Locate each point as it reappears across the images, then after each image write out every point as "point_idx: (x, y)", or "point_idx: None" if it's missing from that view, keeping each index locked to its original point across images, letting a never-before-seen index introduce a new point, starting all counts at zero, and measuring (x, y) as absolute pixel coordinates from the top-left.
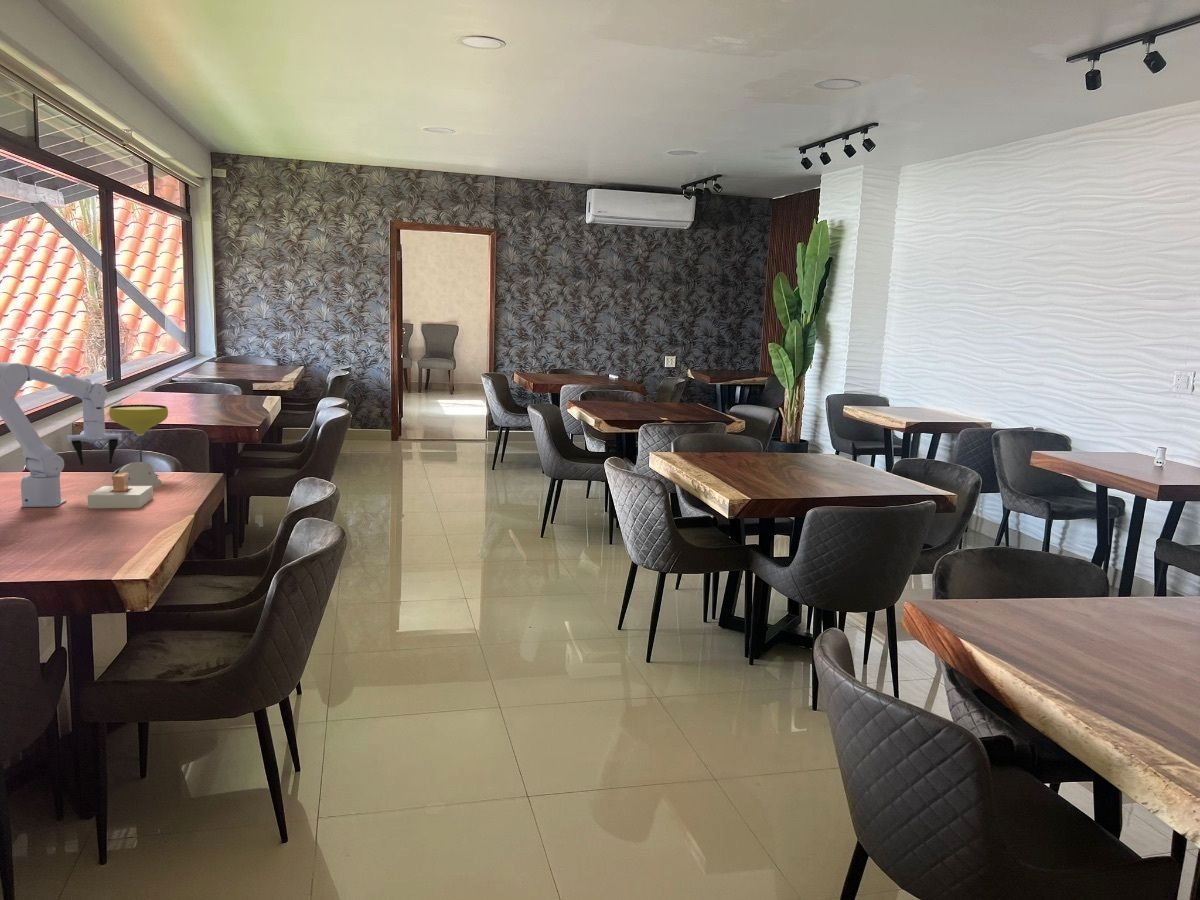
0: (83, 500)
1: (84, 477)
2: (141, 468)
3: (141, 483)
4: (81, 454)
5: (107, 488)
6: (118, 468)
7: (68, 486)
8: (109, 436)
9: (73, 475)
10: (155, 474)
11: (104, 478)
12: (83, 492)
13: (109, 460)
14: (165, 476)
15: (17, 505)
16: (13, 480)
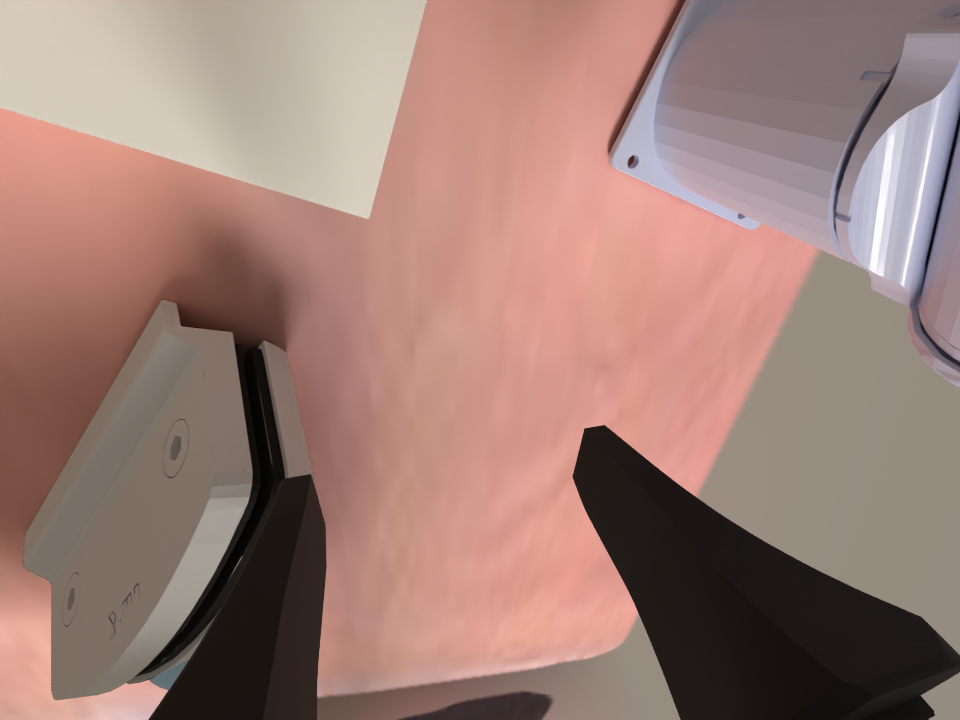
0: (502, 166)
1: (451, 632)
2: (98, 615)
3: (117, 467)
4: (678, 518)
5: (314, 38)
6: None
7: (520, 523)
8: None
9: (481, 647)
10: (165, 683)
11: (384, 627)
12: (477, 409)
13: (301, 504)
14: None
15: None
16: None
